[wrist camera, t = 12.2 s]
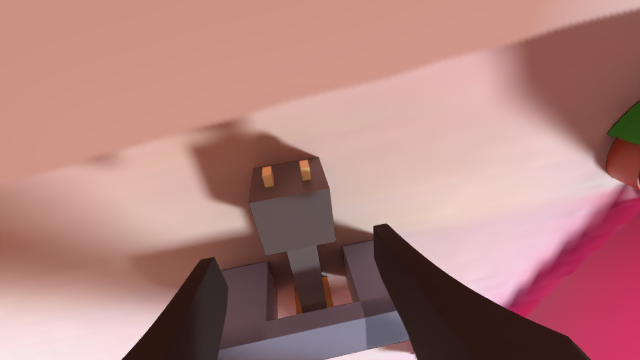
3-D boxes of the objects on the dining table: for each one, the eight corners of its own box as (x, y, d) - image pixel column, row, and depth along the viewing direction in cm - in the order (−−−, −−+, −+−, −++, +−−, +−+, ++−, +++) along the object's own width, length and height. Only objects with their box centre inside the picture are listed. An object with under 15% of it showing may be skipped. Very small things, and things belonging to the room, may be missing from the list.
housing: (385, 268, 25) (417, 338, 19) (235, 300, 24) (223, 382, 18) (385, 237, 22) (421, 305, 17) (221, 270, 21) (203, 353, 16)
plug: (337, 295, 25) (346, 336, 22) (292, 304, 25) (295, 348, 22) (317, 146, 17) (327, 175, 14) (250, 157, 17) (244, 190, 14)
